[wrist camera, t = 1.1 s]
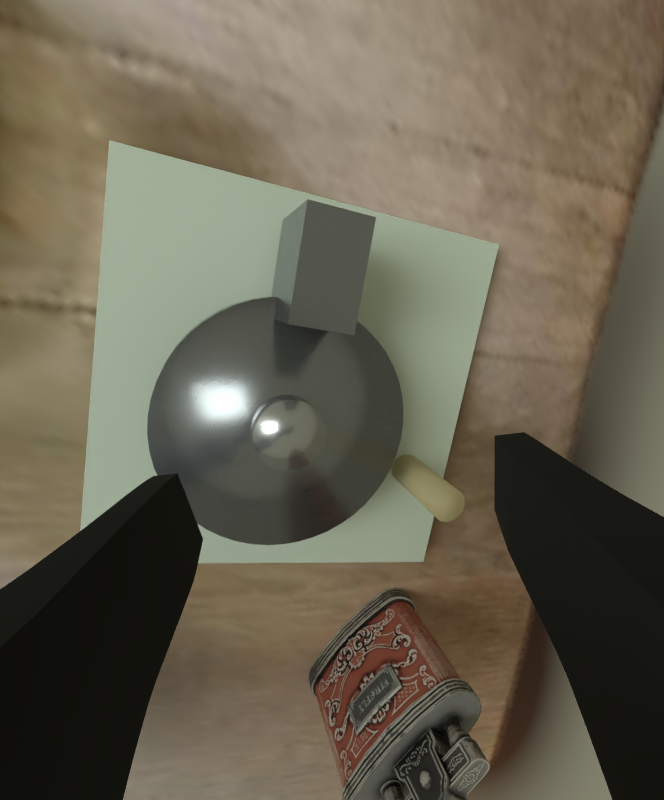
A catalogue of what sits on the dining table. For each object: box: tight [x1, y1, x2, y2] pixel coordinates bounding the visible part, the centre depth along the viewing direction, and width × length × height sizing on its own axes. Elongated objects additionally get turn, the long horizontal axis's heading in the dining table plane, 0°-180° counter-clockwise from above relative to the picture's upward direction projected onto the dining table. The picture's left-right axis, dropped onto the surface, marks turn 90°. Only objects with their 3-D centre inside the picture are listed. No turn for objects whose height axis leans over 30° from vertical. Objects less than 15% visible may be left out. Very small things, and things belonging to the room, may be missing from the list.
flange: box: [147, 199, 403, 545], centre depth 18 cm, size 14×11×4 cm
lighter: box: [308, 588, 490, 800], centre depth 22 cm, size 8×3×10 cm, turn 134°
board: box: [80, 140, 499, 563], centre depth 20 cm, size 18×18×6 cm
